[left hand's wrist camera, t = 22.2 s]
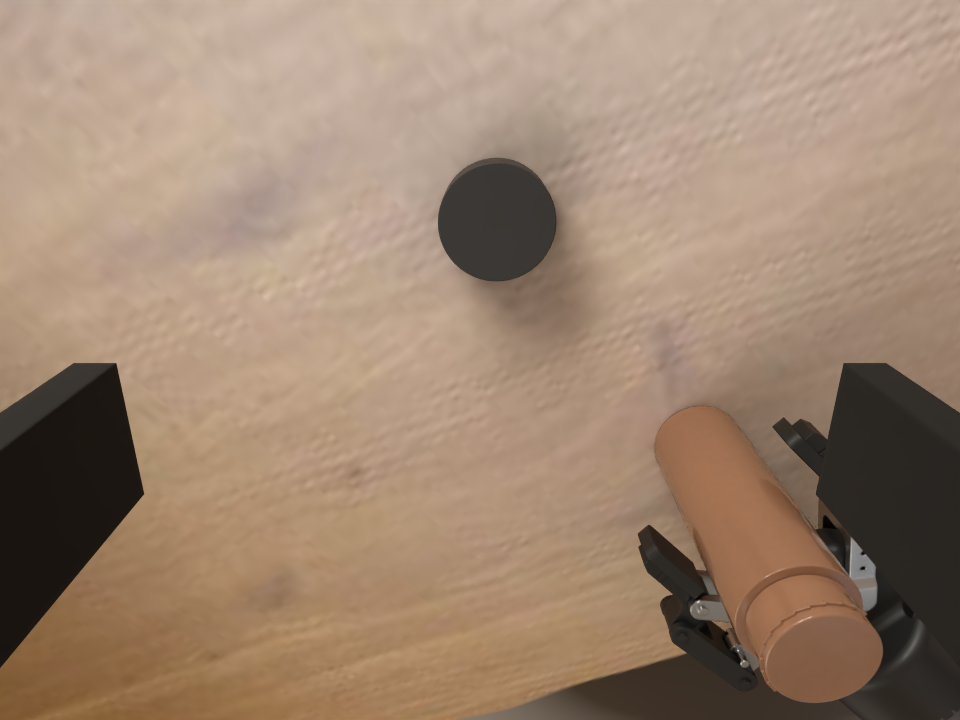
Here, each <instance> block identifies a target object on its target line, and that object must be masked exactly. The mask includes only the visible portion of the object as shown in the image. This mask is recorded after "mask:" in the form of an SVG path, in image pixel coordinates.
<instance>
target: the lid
mask: <svg viewBox="0 0 960 720" xmlns="http://www.w3.org/2000/svg"><path fill="white" fill-rule="evenodd" d="M438 230H439V235H440V239H441V242H442V245H443V247H444V249H445V251H446V253H447V254H448V256H449V257H450V259H451V260H452V261H453V262H454V263H455V264H456V265H457V266H458V267H459V268H460V269H462V270H463V271H464V272H466V273H468V274H470V275H472V276H474V277H476V278H479V279H483V280H487V281H505V280H511V279H514V278H517V277H520V276H522V275H524V274H526V273H527V272H529V271H531V270H532V269H533V268H534V267H536V266H537V265H538V264H539V263H540V262H541V261H542V260H543V258H544V257H545V256H546V254H547V252H548V251H549V249H550V247H551V245H552V242H553V239H554V235H555V230H556V213H555V208H554V204H553V201H552V199H551V196H550V194H549V192H548V191H547V189H546V187H545V186H544V184H543V182H542V181H541V180H540V178H539V177H538V176H537V175H536V174H535V173H534V172H533V171H532V170H530V169H529V168H528V167H526V166H525V165H523V164H521V163H519V162H516V161H513V160H509V159H504V158H490V159H484V160H481V161H478V162H475V163H473V164H471V165H469V166H468V167H466V168H465V169H463V170H462V171H461V172H460V173H459V174H458V175H457V176H456V177H455V178H454V179H453V180H452V182H451V183H450V185H449V186H448V188H447V191H446V193H445V195H444V197H443V200H442V203H441V206H440V210H439V215H438Z"/></svg>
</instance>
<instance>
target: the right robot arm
mask: <svg viewBox="0 0 960 720" xmlns="http://www.w3.org/2000/svg"><path fill="white" fill-rule="evenodd" d="M772 427H773V428H774V429H775V431H776V432H777V433H778V434H779V435H780V437H781V438H782V439H783V440H784V441H785V442H786V444H787V445H788V446H789V447H790V448H791V449H792V450H793V451H794V452H795V453H796V454H797V455H798V456H799V457H800V458H801V459H802V460H803V461H804V462H805V463H806V464H807V465H808V466H809V467H810V468H811V469H812V470H813V471H814V472H815V473H816V474H817V475H818V476H819V477H820V472H821V468H822V463H823V458H824V454H825V449H826V444H827V439H826V438H825V437H824V436H823V435H822V434H821V433H820V432H819V431H818V430H817V429H816V428H815V427H814V426H813V425H812V424H811V423H810V422H807V421H804V420H802V419H800V420H799V421H797V422H796V423H795V424H794V425H791V424H790V423H789V422H788V421H787V420H786V419H785V418H782V419H781V420H780V421H779V422H777V423H776V424H775V425H774V426H772ZM816 532H817V533H818V534H819V536H820V537H821V538H822V540H823V541H824V543H825V544H826V545H827V547H828V548H829V549H830V551H831V552H832V553H833V555H834V556H835V557H836V559H837V560H838V561H839V563H840V564H841V565H842V567H843V568H844V569H845V571H846V572H847V574H848V575H849V576H850V578H851V579H852V580H853V582H854V583H855V584H856V586H857V587H858V589H859V591H860V593H861V596H862V600H863V610H864V611H865V612H866V613H867V615H866V617H867V618H868V620H869V621H870V623H871V624H872V625H873V627H874V628H875V630H876V631H877V632H878V634H879V636H880V638H881V641H882V645H883V657H882V661H881V664H880V666H879V669H878V670H877V672H876V673H875V675H874V676H873V677H872V678H871V680H870V681H869V682H868V683H866V684H865V685H864V686H863V687H862V688H860V689H859V690H857V691H855V692H854V693H852V694H850V695H848V696H845V697H843V698H840V699H839V700H840V701H841V702H842V703H843V704H844V705H846V706H847V707H848V708H849V709H850V710H851V711H852V712H854V713H855V714H856V715H857V716H858V717H859V718H860V719H862V720H960V668H959V666H958V665H957V664H956V663H955V661H954V660H953V659H952V658H951V657H950V655H949V654H948V653H947V652H946V651H945V649H944V648H943V647H942V646H941V645H940V643H939V642H938V641H937V640H936V639H935V637H934V636H933V635H932V634H931V633H930V631H929V630H928V629H927V628H926V626H925V625H924V624H923V623H922V622H921V620H920V619H919V618H918V617H917V616H916V614H915V613H914V612H913V611H912V610H911V608H910V607H909V606H908V605H907V604H906V602H905V601H904V600H903V599H902V597H901V596H900V595H899V594H898V593H897V591H896V590H895V589H894V588H893V587H892V585H891V584H890V583H889V582H888V581H887V579H886V578H885V577H884V576H883V575H882V573H881V572H880V571H879V570H878V569H877V567H876V566H875V565H874V564H873V562H872V561H871V560H870V559H869V558H868V556H867V555H866V554H865V553H864V552H863V550H862V549H861V548H860V547H859V546H858V544H857V543H856V542H855V541H854V540H853V538H852V537H851V536H850V535H849V533H848V532H847V531H846V530H845V529H844V527H843V526H842V525H841V524H840V523H839V521H838V520H837V519H836V518H835V517H834V515H833V514H832V513H831V512H830V511H829V509H828V508H827V507H826V506H825V504H824V503H823V502H822V501H821V500H820V498H819V512H818V529H816ZM638 536H639V539H640V542H641V545H640V546H639V551H640V554H641V557H642V560H643V563H644V565H645V568H646V570H647V572H648V573H649V574H650V575H651V576H652V577H654V578H655V579H656V580H657V581H658V582H659V583H661V584H662V585H663V586H664V587H665V588H666V589H668V590H669V591H670V592H671V593H672V594H673V595H670V596H666V597H665V598H663V599H662V601H661V603H660V607H661V610H662V613H663V615H664V616H665V619H666V622H667V625H668V628H669V634H670V637H671V640H672V642H673V643H674V644H675V645H677V646H678V647H680V648H681V649H682V650H684V651H685V652H686V653H688V654H689V655H691V656H692V657H693V658H695V659H696V660H698V661H699V662H700V663H702V664H703V665H705V666H706V667H707V668H709V669H710V670H711V671H713V672H714V673H716V674H717V675H718V676H720V677H721V678H723V679H724V680H725V681H727V682H728V683H729V684H731V685H732V686H734V687H735V688H736V689H738V690H740V691H749V690H752V689H753V688H755V687H756V685H757V678H756V676H755V674H754V672H753V671H754V670H756V669H757V668H758V667H759V660H758V658H757V657H755V656H754V655H752V654H751V653H749V652H748V651H747V650H746V649H745V648H744V647H743V646H742V644H741V643H740V641H739V640H738V638H737V636H736V634H735V631H734V629H733V628H728V629H727V630H726V632H725V631H724V630H723V629H721V628H720V627H718V626H717V625H716V624H714V623H713V622H712V621H719V622H729V623H730V620H729V618H728V616H727V614H726V612H725V609H724V607H723V605H722V603H721V601H720V598H719V596H718V594H717V592H716V590H715V587H714V585H713V583H712V581H711V578H710V576H709V574H708V572H707V571H704V570H696V569H695V566H694V564H693V562H692V561H690V560H689V559H688V558H687V557H686V556H685V555H684V554H682V553H681V552H680V551H679V550H678V549H677V548H676V547H675V546H673V545H672V544H671V543H670V542H669V541H668V540H667V539H665V538H664V537H663V536H662V535H661V534H660V533H659V532H657V531H656V530H655V529H654V528H653V527H652V526H650V525H648V526H647V527H645V528H644V529H643V530H642V531H640V532H639V533H638ZM712 595H713V596H712Z"/></svg>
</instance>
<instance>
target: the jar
mask: <svg viewBox="0 0 960 720" xmlns="http://www.w3.org/2000/svg"><path fill="white" fill-rule="evenodd" d="M654 451H655V456H656V459H657V462H658V464H659V466H660V468H661V471H662V473H663V475H664V477H665V479H666V482H667V484H668V486H669V488H670V490H671V493H672V495H673V497H674V499H675V501H676V504H677V506H678V508H679V510H680V512H681V515H682V517H683V519H684V521H685V523H686V526H687V528H688V530H689V532H690V534H691V537H692V539H693V541H694V543H695V545H696V548H697V550H698V552H699V554H700V556H701V559H702V561H703V563H704V565H705V567H706V570H707V572H708V574H709V576H710V578H711V581H712V583H713V585H714V587H715V590H716V592H717V594H718V596H719V598H720V601H721V603H722V605H723V607H724V609H725V612H726V614H727V616H728V618H729V620H730V623H731V625H732V627H733V629H734V631H735V634H736V636H737V638H738V640H739V641H740V643H741V644H742V646H743V647H744V648H745V649H746V650H747V651H748V652H749V653H751V654H752V655H754V656H755V657H757V658H758V660H759V668H760V670H761V673H762V675H763V677H764V679H765V681H766V683H767V684H768V685H769V686H770V687H771V688H772V689H773V690H774V691H775V692H776V691H778V692H780V693H781V694H783V695H784V696H786V697H788V698H790V699H794V700H796V701H801V702H809V703H820V702H828V701H833V700H836V699H840V698H843V697H845V696H848V695H850V694H852V693H854V692H855V691H857V690H859V689H860V688H862V687H863V686H864V685H865V684H866V683H868V682H869V681H870V680H871V678H872V677H873V676H874V675H875V673H876V672H877V670H878V669H879V666H880V664H881V661H882V657H883V645H882V641H881V638H880V636H879V634H878V632H877V631H876V630H875V628H874V627H873V625H872V624H871V623H870V621H869V620H868V618H867V617H866V615H867V613H866V612H865V611H864V610H863V600H862V596H861V593H860V591H859V589H858V587H857V586H856V584H855V583H854V582H853V580H852V579H851V578H850V576H849V575H848V574H847V572H846V571H845V569H844V568H843V567H842V565H841V564H840V563H839V561H838V560H837V559H836V557H835V556H834V555H833V553H832V552H831V551H830V549H829V548H828V547H827V545H826V544H825V543H824V541H823V540H822V538H821V537H820V536H819V534H818V533H817V532H816V530H815V529H814V528H813V526H812V525H811V524H810V522H809V521H808V520H807V518H806V517H805V516H804V514H803V513H802V512H801V510H800V509H799V507H798V506H797V505H796V503H795V502H794V501H793V499H792V498H791V497H790V495H789V494H788V493H787V491H786V490H785V489H784V487H783V486H782V485H781V483H780V482H779V481H778V479H777V478H776V476H775V475H774V474H773V472H772V471H771V470H770V468H769V467H768V466H767V464H766V463H765V462H764V460H763V459H762V458H761V456H760V455H759V454H758V452H757V451H756V450H755V448H754V447H753V445H752V444H751V443H750V441H749V440H748V439H747V437H746V436H745V435H744V433H743V432H742V431H741V429H740V428H739V427H738V425H737V424H736V423H735V421H734V420H733V419H732V418H731V417H730V416H729V415H728V414H727V413H725V412H723V411H722V410H719V409H717V408H713V407H708V406H695V407H690V408H686V409H684V410H681V411H679V412H677V413H676V414H674V415H672V416H671V417H670V418H669V419H668V420H667V421H666V422H665V423H664V424H663V425H662V426H661V428H660V430H659V431H658V434H657V436H656V439H655V445H654Z"/></svg>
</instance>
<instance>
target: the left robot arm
mask: <svg viewBox="0 0 960 720" xmlns="http://www.w3.org/2000/svg"><path fill="white" fill-rule="evenodd" d="M143 495H144V491H143V486H142V482H141V477H140V472H139V468H138V463H137V458H136V454H135V449H134V444H133V440H132V435H131V430H130V425H129V421H128V416H127V411H126V407H125V402H124V397H123V393H122V388H121V383H120V378H119V374H118V369H117V364H116V363H73V364H72V365H70V366H69V367H68V368H66V369H65V370H63V371H62V372H60V373H59V374H57V375H56V376H54V377H53V378H51V379H50V380H48V381H47V382H45V383H44V384H42V385H41V386H39V387H38V388H36V389H35V390H34V391H32V392H31V393H29V394H28V395H26V396H25V397H23V398H22V399H20V400H19V401H17V402H16V403H14V404H13V405H11V406H10V407H8V408H7V409H5V410H4V411H2V412H1V413H0V668H1V666H2V665H3V664H4V663H5V661H6V660H7V659H8V658H9V657H10V655H11V654H12V653H13V652H14V651H15V649H16V648H17V647H18V646H19V645H20V643H21V642H22V641H23V640H24V639H25V637H26V636H27V635H28V634H29V633H30V631H31V630H32V629H33V628H34V626H35V625H36V624H37V623H38V622H39V620H40V619H41V618H42V617H43V616H44V614H45V613H46V612H47V611H48V610H49V608H50V607H51V606H52V605H53V604H54V602H55V601H56V600H57V599H58V597H59V596H60V595H61V594H62V593H63V591H64V590H65V589H66V588H67V587H68V585H69V584H70V583H71V582H72V581H73V579H74V578H75V577H76V576H77V575H78V573H79V572H80V571H81V570H82V569H83V567H84V566H85V565H86V564H87V562H88V561H89V560H90V559H91V558H92V556H93V555H94V554H95V553H96V552H97V550H98V549H99V548H100V547H101V546H102V544H103V543H104V542H105V541H106V540H107V538H108V537H109V536H110V535H111V533H112V532H113V531H114V530H115V529H116V527H117V526H118V525H119V524H120V523H121V521H122V520H123V519H124V518H125V517H126V515H127V514H128V513H129V512H130V511H131V509H132V508H133V507H134V506H135V504H136V503H137V502H138V501H139V500H140V498H141V497H142V496H143ZM816 495H817V496H818V497H819V498H820V500H821V501H822V502H823V503H824V504H825V506H826V507H827V508H828V509H829V511H830V512H831V513H832V514H833V515H834V517H835V518H836V519H837V520H838V521H839V523H840V524H841V525H842V526H843V527H844V529H845V530H846V531H847V532H848V533H849V535H850V536H851V537H852V538H853V540H854V541H855V542H856V543H857V544H858V546H859V547H860V548H861V549H862V550H863V552H864V553H865V554H866V555H867V556H868V558H869V559H870V560H871V561H872V562H873V564H874V565H875V566H876V567H877V569H878V570H879V571H880V572H881V573H882V575H883V576H884V577H885V578H886V579H887V581H888V582H889V583H890V584H891V585H892V587H893V588H894V589H895V590H896V591H897V593H898V594H899V595H900V596H901V597H902V599H903V600H904V601H905V602H906V604H907V605H908V606H909V607H910V608H911V610H912V611H913V612H914V613H915V614H916V616H917V617H918V618H919V619H920V620H921V622H922V623H923V624H924V625H925V626H926V628H927V629H928V630H929V631H930V633H931V634H932V635H933V636H934V637H935V639H936V640H937V641H938V642H939V643H940V645H941V646H942V647H943V648H944V649H945V651H946V652H947V653H948V654H949V655H950V657H951V658H952V659H953V660H954V661H955V663H956V664H957V665H958V666H959V668H960V413H959V412H958V411H956V410H955V409H953V408H952V407H950V406H949V405H947V404H946V403H944V402H943V401H941V400H940V399H938V398H937V397H935V396H934V395H932V394H931V393H929V392H928V391H926V390H925V389H924V388H922V387H921V386H919V385H918V384H916V383H915V382H913V381H912V380H910V379H909V378H907V377H906V376H904V375H903V374H901V373H900V372H898V371H897V370H895V369H894V368H892V367H891V366H890V365H888V364H887V363H844V364H843V369H842V374H841V378H840V383H839V388H838V393H837V397H836V402H835V407H834V411H833V416H832V421H831V425H830V430H829V435H828V440H827V444H826V449H825V454H824V458H823V463H822V468H821V472H820V477H819V482H818V486H817V491H816Z"/></svg>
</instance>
